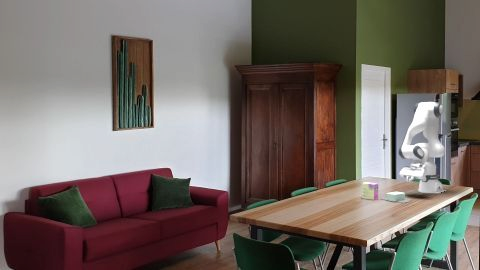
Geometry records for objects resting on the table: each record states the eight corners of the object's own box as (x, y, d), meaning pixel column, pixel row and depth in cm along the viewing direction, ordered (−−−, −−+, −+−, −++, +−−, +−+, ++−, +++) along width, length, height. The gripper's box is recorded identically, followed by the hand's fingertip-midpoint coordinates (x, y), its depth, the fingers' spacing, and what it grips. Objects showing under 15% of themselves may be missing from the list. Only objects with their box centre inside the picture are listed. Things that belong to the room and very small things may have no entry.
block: (395, 191, 386) (385, 193, 379) (405, 192, 380) (394, 194, 372) (395, 198, 386) (385, 200, 379) (405, 199, 380) (394, 201, 373)
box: (378, 199, 385) (378, 183, 385) (373, 200, 381) (373, 184, 381) (366, 197, 393) (366, 182, 392) (362, 198, 389) (362, 182, 389)
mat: (388, 197, 390) (388, 197, 390) (411, 201, 374) (411, 201, 374) (380, 199, 385) (380, 198, 385) (403, 203, 369) (403, 202, 369)
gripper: (402, 163, 400) (394, 177, 395) (426, 165, 384) (418, 180, 379) (406, 168, 403) (398, 182, 398) (429, 171, 387) (421, 185, 382)
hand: (408, 181), depth 388 cm, fingers closed
